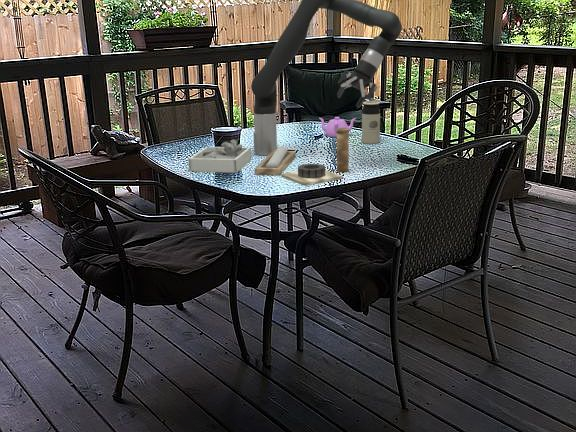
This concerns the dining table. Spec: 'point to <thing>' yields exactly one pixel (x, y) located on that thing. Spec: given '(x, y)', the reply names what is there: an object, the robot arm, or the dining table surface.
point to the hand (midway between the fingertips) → (347, 101)
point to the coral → (230, 151)
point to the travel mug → (371, 122)
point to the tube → (277, 158)
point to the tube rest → (279, 170)
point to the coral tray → (219, 161)
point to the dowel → (342, 149)
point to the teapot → (335, 126)
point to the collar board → (313, 180)
